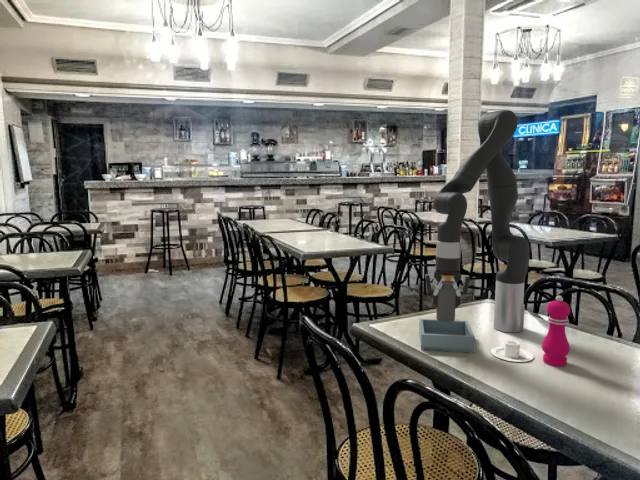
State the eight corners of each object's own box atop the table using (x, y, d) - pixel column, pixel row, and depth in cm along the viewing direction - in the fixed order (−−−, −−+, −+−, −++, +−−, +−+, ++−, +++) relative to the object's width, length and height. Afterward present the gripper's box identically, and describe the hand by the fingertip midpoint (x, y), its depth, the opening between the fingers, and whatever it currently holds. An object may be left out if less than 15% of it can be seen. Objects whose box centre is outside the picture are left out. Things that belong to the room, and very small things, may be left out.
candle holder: (498, 345, 153) (499, 332, 152) (538, 354, 145) (539, 341, 144) (485, 357, 143) (485, 343, 143) (527, 367, 136) (528, 353, 135)
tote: (466, 335, 162) (467, 320, 161) (474, 352, 146) (474, 337, 145) (419, 332, 164) (419, 318, 163) (420, 349, 149) (421, 334, 148)
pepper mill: (557, 369, 134) (562, 300, 131) (535, 360, 140) (539, 294, 137) (574, 364, 137) (579, 297, 134) (551, 355, 143) (556, 291, 140)
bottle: (453, 317, 157) (455, 272, 154) (456, 322, 151) (458, 276, 149) (435, 316, 157) (436, 272, 155) (437, 322, 151) (439, 275, 149)
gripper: (425, 256, 148) (423, 308, 151) (473, 258, 146) (470, 311, 149) (424, 252, 156) (422, 302, 158) (469, 253, 153) (467, 304, 156)
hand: (446, 306), depth 153 cm, fingers closed on bottle, 6 cm apart
